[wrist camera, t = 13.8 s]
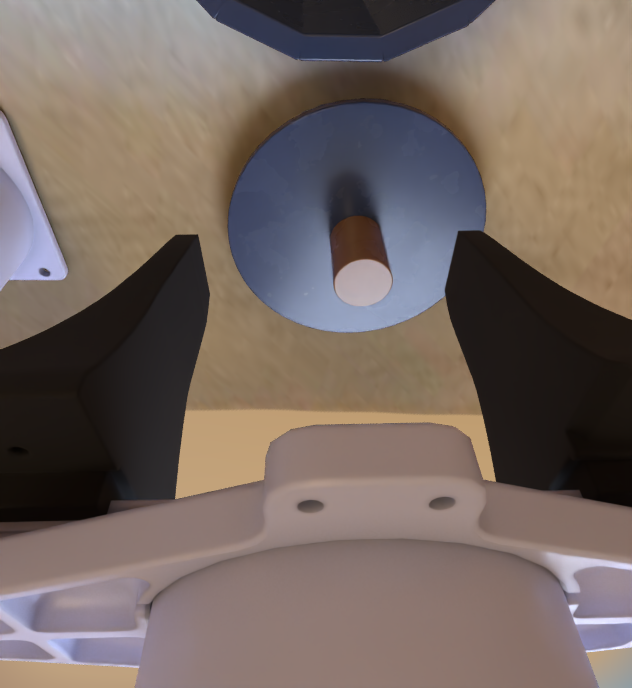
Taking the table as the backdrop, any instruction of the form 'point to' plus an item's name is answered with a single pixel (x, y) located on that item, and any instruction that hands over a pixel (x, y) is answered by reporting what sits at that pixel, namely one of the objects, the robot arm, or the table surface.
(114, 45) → the table surface
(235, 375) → the table surface
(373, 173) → the lid
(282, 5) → the tin
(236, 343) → the table surface
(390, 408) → the table surface
